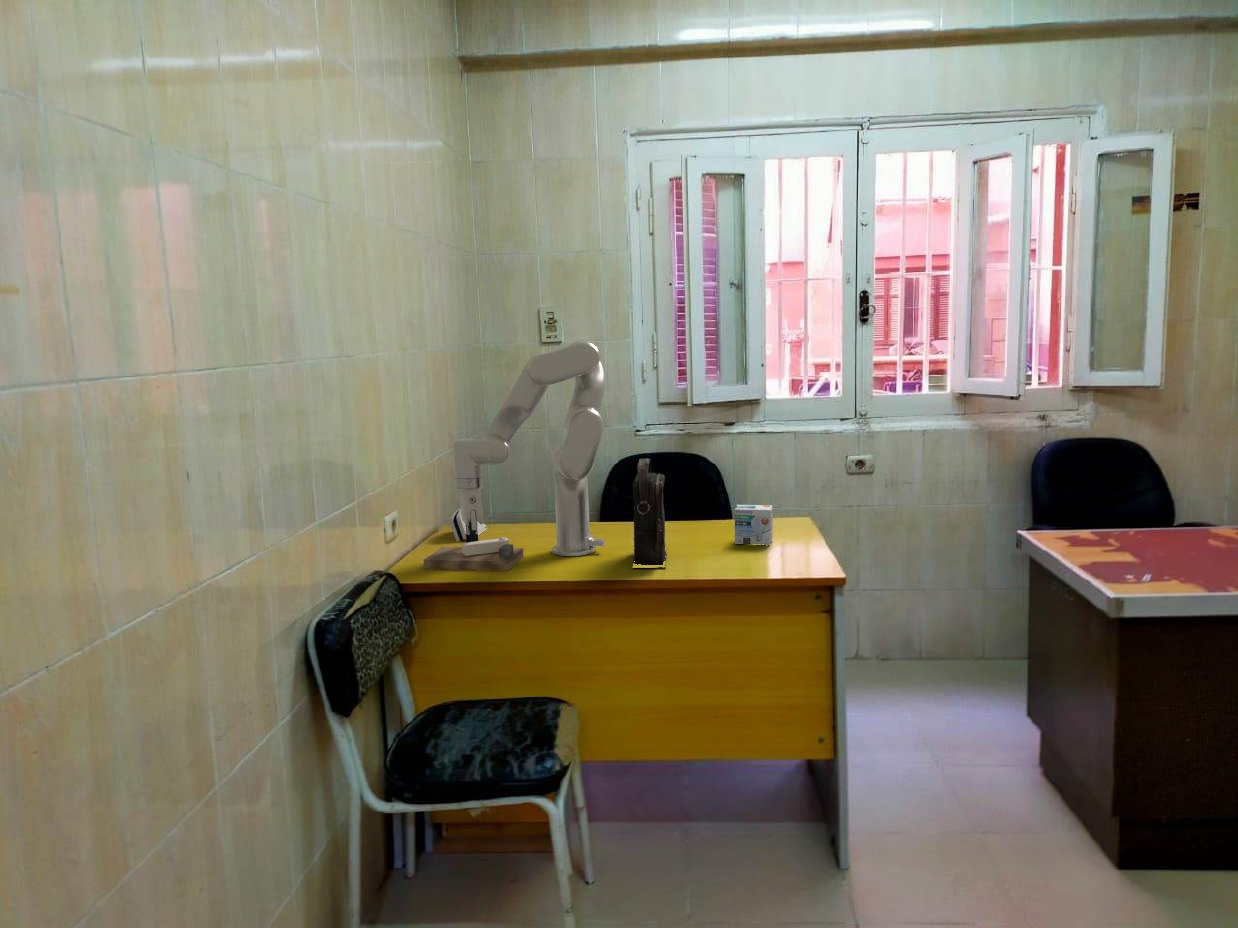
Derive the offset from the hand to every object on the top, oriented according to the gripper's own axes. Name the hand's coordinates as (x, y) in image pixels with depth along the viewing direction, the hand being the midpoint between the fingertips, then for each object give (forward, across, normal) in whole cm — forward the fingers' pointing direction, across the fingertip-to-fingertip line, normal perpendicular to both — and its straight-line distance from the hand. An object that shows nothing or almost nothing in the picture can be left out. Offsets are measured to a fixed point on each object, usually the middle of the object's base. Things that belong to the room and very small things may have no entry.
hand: (472, 547), depth 245 cm
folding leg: (+1, -3, -3) cm, 5 cm away
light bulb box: (+4, -15, -80) cm, 81 cm away
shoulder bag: (+4, -18, -46) cm, 50 cm away
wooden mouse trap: (+4, -3, 0) cm, 5 cm away
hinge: (+4, +31, -3) cm, 31 cm away
